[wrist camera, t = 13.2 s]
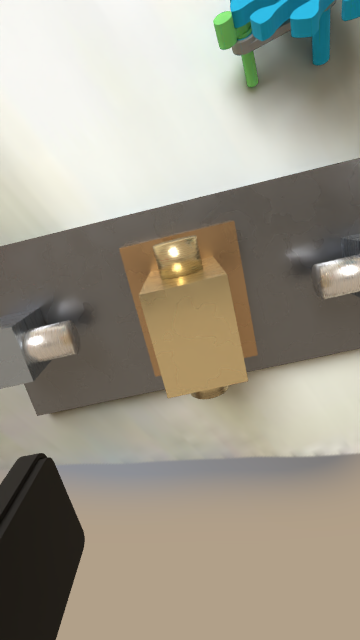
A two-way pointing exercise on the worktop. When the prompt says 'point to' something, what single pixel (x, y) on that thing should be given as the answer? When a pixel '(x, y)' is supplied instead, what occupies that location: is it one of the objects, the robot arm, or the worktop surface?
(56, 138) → the worktop surface
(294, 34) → the gear
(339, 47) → the worktop surface
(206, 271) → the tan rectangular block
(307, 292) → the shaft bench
